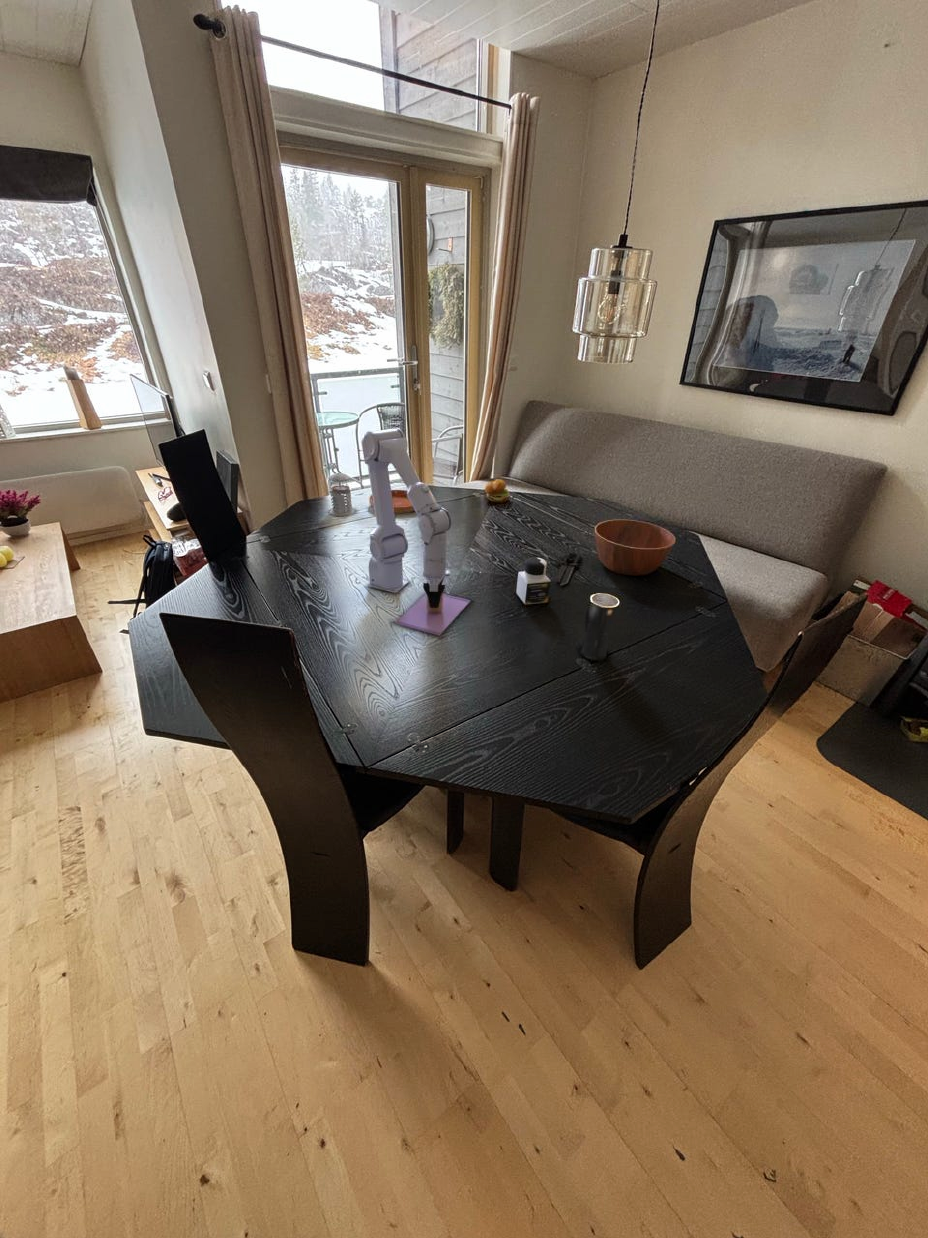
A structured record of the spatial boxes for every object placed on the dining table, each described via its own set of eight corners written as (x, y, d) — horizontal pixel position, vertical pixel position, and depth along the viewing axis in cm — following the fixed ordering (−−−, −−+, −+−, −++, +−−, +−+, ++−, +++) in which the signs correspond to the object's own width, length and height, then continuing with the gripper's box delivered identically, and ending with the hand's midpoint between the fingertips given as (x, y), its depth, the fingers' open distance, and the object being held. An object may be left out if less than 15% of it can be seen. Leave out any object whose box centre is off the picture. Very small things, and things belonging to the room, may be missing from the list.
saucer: (404, 494, 222) (404, 486, 220) (435, 508, 207) (436, 499, 205) (359, 503, 209) (358, 495, 207) (389, 519, 195) (389, 510, 193)
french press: (347, 506, 206) (341, 443, 193) (361, 514, 199) (356, 449, 186) (325, 510, 201) (318, 446, 188) (339, 519, 193) (332, 452, 180)
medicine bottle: (524, 605, 141) (529, 566, 135) (515, 593, 147) (519, 555, 140) (547, 602, 143) (553, 564, 136) (538, 591, 149) (543, 553, 142)
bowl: (574, 563, 166) (579, 531, 160) (614, 544, 181) (620, 514, 175) (643, 591, 151) (651, 556, 145) (680, 567, 166) (689, 535, 160)
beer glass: (587, 642, 126) (597, 589, 118) (613, 653, 122) (625, 599, 114) (574, 654, 121) (583, 600, 113) (600, 665, 118) (612, 611, 110)
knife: (564, 588, 151) (565, 584, 150) (544, 583, 153) (544, 579, 152) (584, 557, 170) (585, 554, 169) (566, 554, 172) (567, 550, 172)
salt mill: (423, 610, 134) (423, 585, 131) (431, 602, 138) (431, 578, 134) (438, 613, 133) (438, 589, 129) (445, 606, 136) (445, 582, 133)
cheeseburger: (515, 501, 218) (513, 479, 212) (495, 510, 215) (492, 488, 208) (502, 494, 225) (499, 473, 219) (482, 502, 222) (479, 482, 216)
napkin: (394, 623, 130) (394, 622, 130) (429, 591, 146) (429, 590, 146) (439, 636, 126) (439, 634, 126) (470, 601, 142) (470, 600, 142)
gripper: (450, 569, 121) (449, 616, 128) (450, 545, 134) (449, 590, 141) (421, 568, 121) (421, 616, 128) (424, 544, 133) (424, 589, 141)
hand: (434, 602), depth 135 cm, fingers closed on salt mill, 4 cm apart
